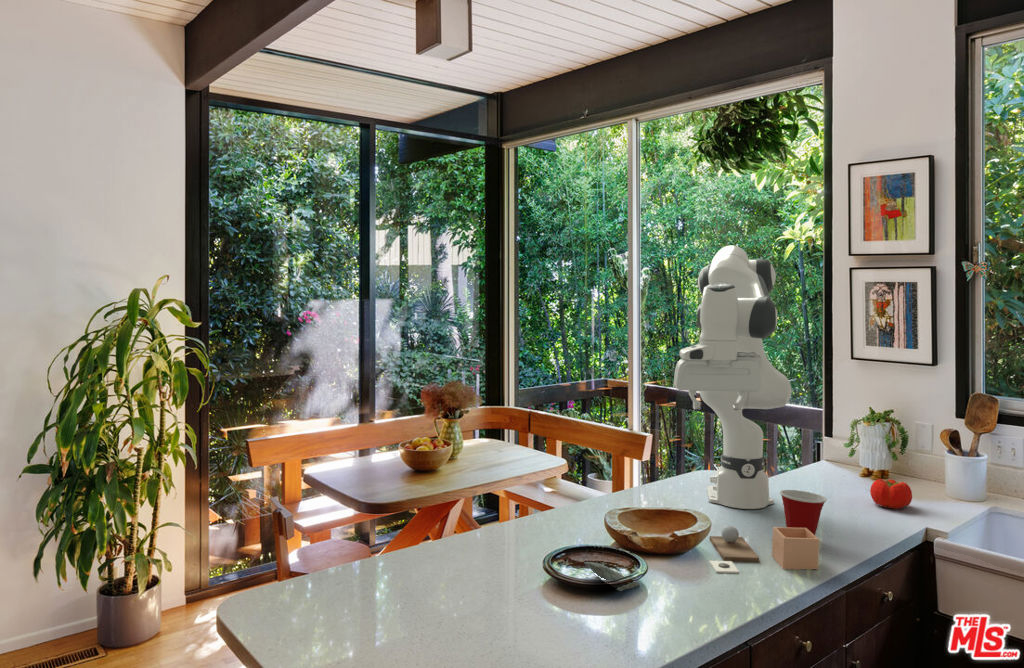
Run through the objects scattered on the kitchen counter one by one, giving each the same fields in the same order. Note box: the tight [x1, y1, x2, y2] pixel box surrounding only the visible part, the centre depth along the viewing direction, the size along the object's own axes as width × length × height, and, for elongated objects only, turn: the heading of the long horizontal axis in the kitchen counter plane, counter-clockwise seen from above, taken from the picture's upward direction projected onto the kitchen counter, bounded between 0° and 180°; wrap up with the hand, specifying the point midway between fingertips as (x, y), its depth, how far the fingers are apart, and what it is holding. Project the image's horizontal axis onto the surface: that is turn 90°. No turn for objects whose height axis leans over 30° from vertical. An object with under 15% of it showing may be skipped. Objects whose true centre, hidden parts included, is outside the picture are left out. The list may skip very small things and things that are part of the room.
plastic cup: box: [779, 489, 827, 536], centre depth 178 cm, size 11×11×12 cm
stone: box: [583, 561, 640, 592], centre depth 151 cm, size 11×4×10 cm
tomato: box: [869, 478, 913, 510], centre depth 208 cm, size 11×11×8 cm
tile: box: [709, 560, 740, 574], centre depth 160 cm, size 6×5×1 cm
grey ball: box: [721, 525, 740, 543], centre depth 173 cm, size 4×4×4 cm
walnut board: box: [709, 535, 760, 563], centre depth 171 cm, size 14×8×1 cm, turn 178°
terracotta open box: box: [771, 526, 820, 571], centre depth 163 cm, size 8×8×7 cm
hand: (716, 409), depth 170 cm, fingers open, 8 cm apart
